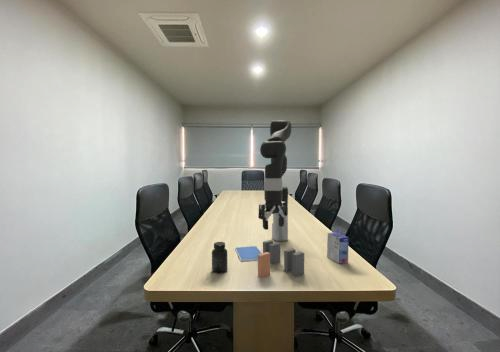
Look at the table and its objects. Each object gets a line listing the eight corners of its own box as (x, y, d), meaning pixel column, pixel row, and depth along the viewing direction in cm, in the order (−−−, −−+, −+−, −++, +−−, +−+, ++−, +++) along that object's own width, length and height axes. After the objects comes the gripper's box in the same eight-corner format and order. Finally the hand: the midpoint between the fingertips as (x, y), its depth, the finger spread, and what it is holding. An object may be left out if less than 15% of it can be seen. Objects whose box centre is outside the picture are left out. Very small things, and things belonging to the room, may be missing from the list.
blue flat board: (234, 249, 132) (234, 247, 132) (256, 247, 135) (256, 245, 134) (240, 263, 113) (240, 260, 113) (265, 260, 116) (265, 258, 116)
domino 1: (262, 260, 115) (262, 241, 115) (270, 257, 118) (270, 239, 118) (265, 261, 113) (265, 242, 113) (273, 259, 116) (273, 240, 116)
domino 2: (257, 275, 98) (257, 254, 98) (267, 272, 101) (267, 251, 101) (260, 277, 97) (260, 255, 96) (270, 274, 100) (270, 253, 99)
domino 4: (284, 270, 103) (284, 250, 102) (292, 268, 106) (292, 248, 105) (287, 272, 101) (287, 251, 101) (295, 269, 104) (295, 249, 104)
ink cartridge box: (349, 263, 110) (349, 232, 110) (339, 264, 109) (339, 233, 109) (336, 255, 120) (336, 227, 120) (326, 256, 119) (326, 228, 118)
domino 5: (292, 275, 99) (292, 253, 98) (300, 272, 101) (300, 251, 101) (295, 276, 97) (295, 255, 97) (304, 273, 100) (304, 252, 99)
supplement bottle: (216, 266, 108) (216, 240, 108) (230, 268, 106) (229, 241, 105) (208, 272, 102) (208, 244, 101) (223, 274, 99) (222, 246, 99)
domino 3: (269, 263, 111) (269, 244, 111) (277, 260, 114) (277, 242, 113) (272, 264, 109) (272, 245, 109) (280, 262, 112) (280, 243, 112)
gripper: (279, 187, 106) (279, 223, 106) (254, 189, 97) (254, 228, 98) (291, 188, 100) (292, 227, 100) (266, 190, 91) (266, 232, 92)
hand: (273, 227), depth 99 cm, fingers open, 8 cm apart
